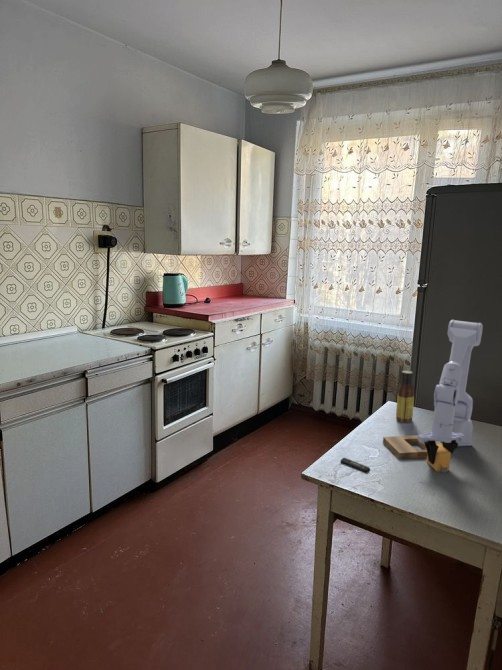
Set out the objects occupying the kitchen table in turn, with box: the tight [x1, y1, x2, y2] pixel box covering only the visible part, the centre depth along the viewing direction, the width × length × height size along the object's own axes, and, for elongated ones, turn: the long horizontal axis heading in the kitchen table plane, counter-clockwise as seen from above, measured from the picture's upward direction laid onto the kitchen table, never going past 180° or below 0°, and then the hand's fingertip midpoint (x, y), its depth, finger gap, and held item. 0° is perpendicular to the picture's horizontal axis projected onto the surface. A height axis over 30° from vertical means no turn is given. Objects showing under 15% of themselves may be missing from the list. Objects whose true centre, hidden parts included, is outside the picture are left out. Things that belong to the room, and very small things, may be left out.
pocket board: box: [382, 434, 443, 460], centre depth 156 cm, size 18×12×2 cm, turn 99°
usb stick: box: [340, 457, 371, 474], centre depth 143 cm, size 10×3×2 cm, turn 47°
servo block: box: [426, 444, 452, 474], centre depth 144 cm, size 4×9×6 cm, turn 9°
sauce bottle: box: [395, 370, 415, 423], centre depth 179 cm, size 6×6×20 cm
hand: (437, 462), depth 145 cm, fingers closed on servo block, 4 cm apart
